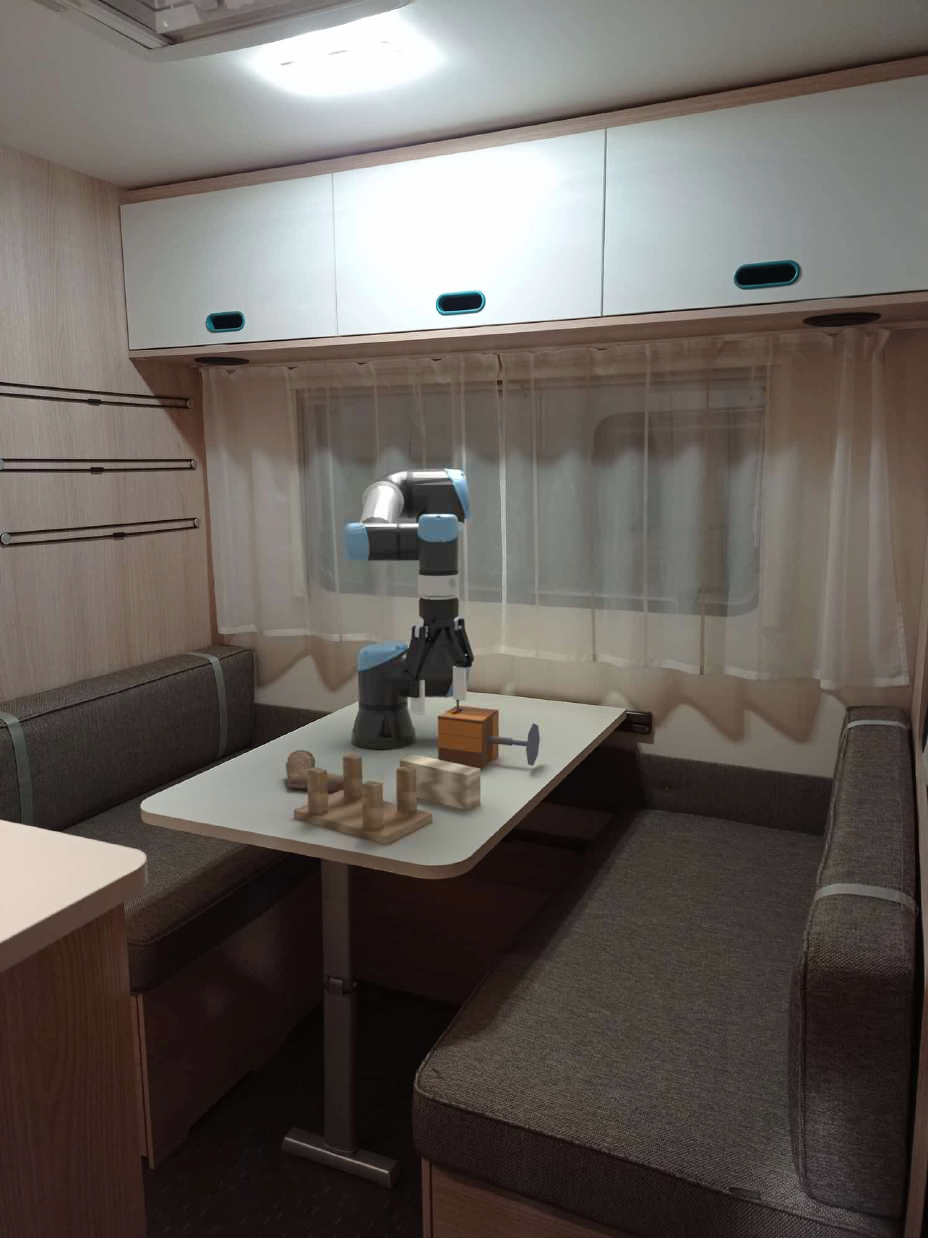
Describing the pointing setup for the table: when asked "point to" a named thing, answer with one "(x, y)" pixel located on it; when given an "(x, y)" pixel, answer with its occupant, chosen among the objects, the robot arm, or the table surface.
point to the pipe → (298, 772)
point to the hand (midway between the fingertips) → (439, 706)
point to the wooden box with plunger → (477, 737)
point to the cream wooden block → (445, 781)
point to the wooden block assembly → (363, 804)
